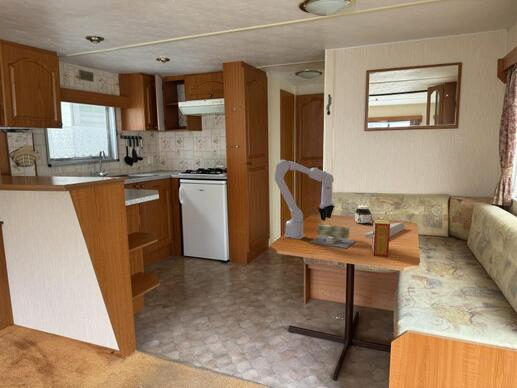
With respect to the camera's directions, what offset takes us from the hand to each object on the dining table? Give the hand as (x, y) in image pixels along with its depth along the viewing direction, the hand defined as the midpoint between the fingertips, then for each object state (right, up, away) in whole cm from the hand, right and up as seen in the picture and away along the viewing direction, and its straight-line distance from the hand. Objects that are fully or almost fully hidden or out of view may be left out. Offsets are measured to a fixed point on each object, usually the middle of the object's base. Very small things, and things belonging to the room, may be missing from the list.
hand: (326, 219), depth 204 cm
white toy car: (+33, -6, +37) cm, 50 cm away
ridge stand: (+2, -12, -8) cm, 14 cm away
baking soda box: (+21, -15, -27) cm, 37 cm away
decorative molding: (+37, -10, +13) cm, 41 cm away
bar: (+2, -8, -9) cm, 12 cm away
